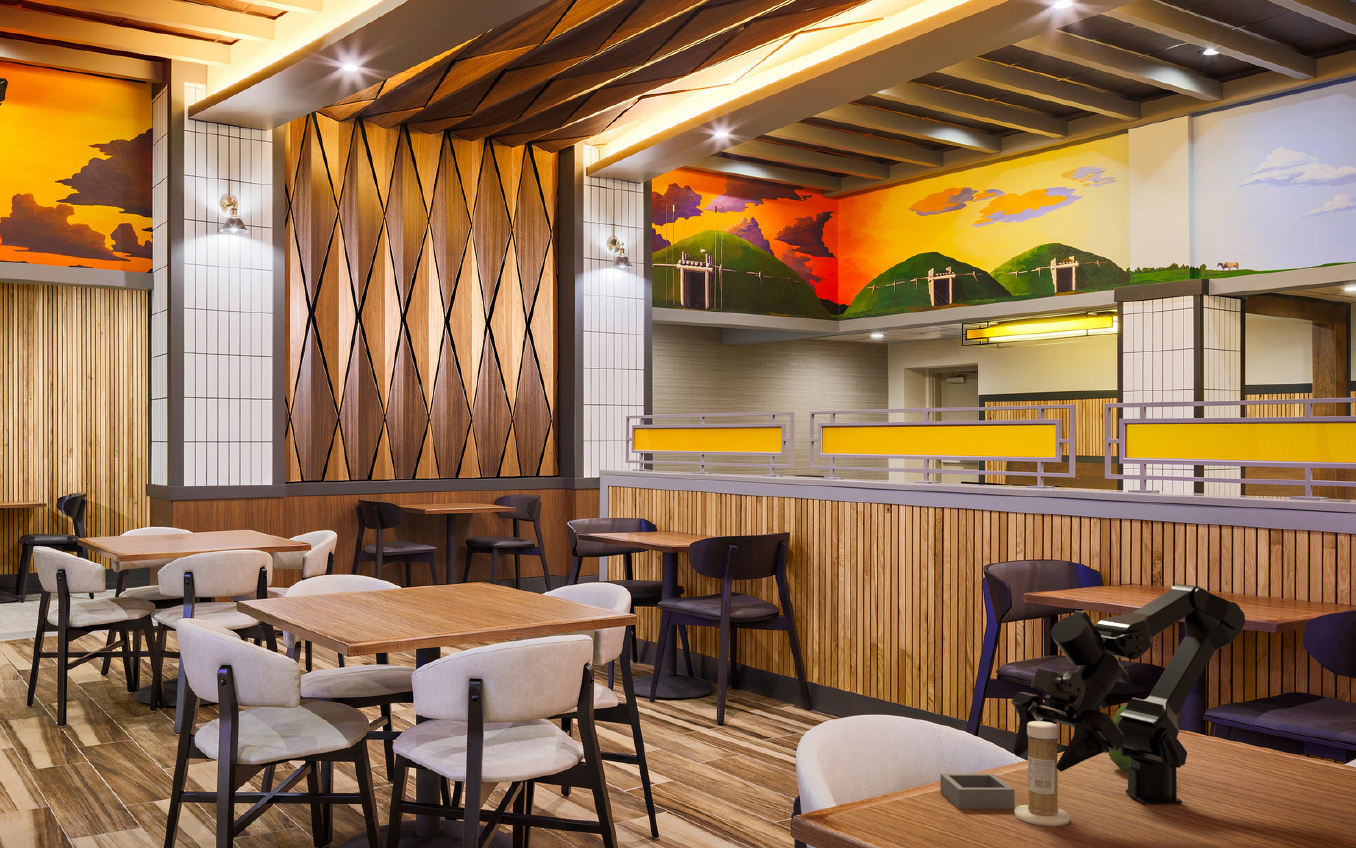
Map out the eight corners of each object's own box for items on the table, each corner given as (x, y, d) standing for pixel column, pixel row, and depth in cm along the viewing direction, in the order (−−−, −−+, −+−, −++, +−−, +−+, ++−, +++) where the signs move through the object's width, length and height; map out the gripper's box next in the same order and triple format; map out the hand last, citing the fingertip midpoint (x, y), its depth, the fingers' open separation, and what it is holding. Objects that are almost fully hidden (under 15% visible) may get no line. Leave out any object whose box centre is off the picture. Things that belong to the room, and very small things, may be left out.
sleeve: (993, 792, 175) (993, 773, 175) (1014, 808, 166) (1014, 789, 166) (940, 792, 174) (940, 773, 174) (958, 809, 165) (958, 789, 165)
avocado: (1135, 779, 185) (1135, 709, 185) (1097, 768, 192) (1097, 701, 192) (1164, 773, 189) (1163, 705, 189) (1126, 763, 195) (1125, 697, 196)
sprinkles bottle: (1062, 811, 162) (1062, 723, 163) (1052, 818, 159) (1053, 728, 159) (1032, 805, 165) (1032, 718, 166) (1022, 812, 161) (1022, 723, 162)
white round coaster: (1055, 809, 166) (1055, 804, 166) (1078, 826, 158) (1078, 820, 158) (1006, 809, 165) (1006, 804, 165) (1027, 826, 157) (1027, 820, 157)
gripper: (1020, 641, 173) (966, 714, 168) (1109, 659, 156) (1052, 741, 151) (1056, 687, 176) (1005, 760, 171) (1148, 709, 159) (1093, 791, 154)
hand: (1036, 762), depth 162 cm, fingers open, 9 cm apart
